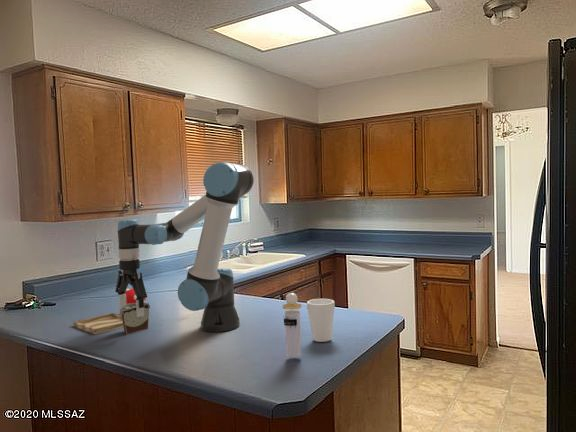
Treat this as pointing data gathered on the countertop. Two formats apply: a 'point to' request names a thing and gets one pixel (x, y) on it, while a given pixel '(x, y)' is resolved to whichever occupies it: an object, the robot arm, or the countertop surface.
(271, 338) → the countertop surface
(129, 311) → the brown white half-round block
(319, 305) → the foam cup
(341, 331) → the countertop surface
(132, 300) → the mushroom
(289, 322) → the perfume bottle
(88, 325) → the tray
